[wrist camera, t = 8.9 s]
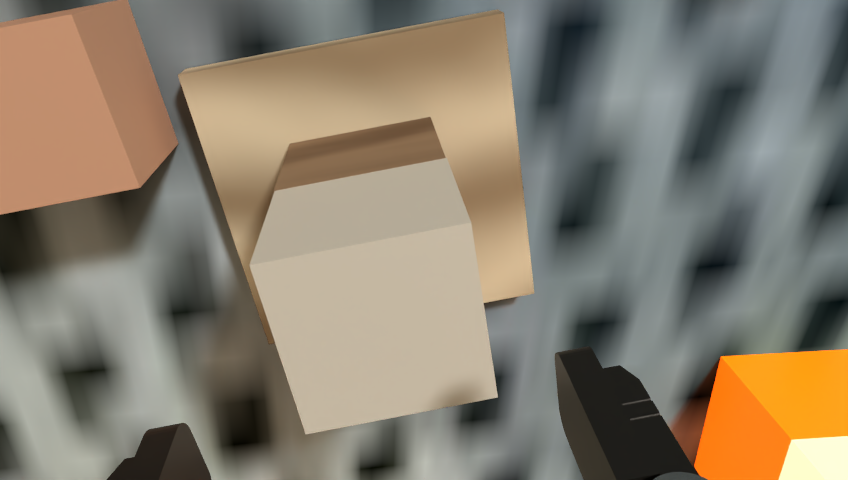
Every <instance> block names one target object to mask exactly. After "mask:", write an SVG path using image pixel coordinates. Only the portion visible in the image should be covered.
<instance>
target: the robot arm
mask: <svg viewBox="0 0 848 480" xmlns="http://www.w3.org/2000/svg"><path fill="white" fill-rule="evenodd" d="M555 367H556V378H557V389H558V401H559V410H560V416H561V420H562V424H563V428H564V431H565V434H566V437H567V440H568V442H569V445H570V447H571V450H572V452H573V455H574V457H575V459H576V462H577V464H578V467H579V469H580V472H581V474H582V477H583V479H584V480H708V479H706V478H704V477H701V476H699V475H698V474H697V472H696V471H695V470H694V468H693V466H692V465H691V463H690V462H689V460H688V458H687V457H686V455H685V453H684V452H683V450H682V449H681V447H680V445H679V444H678V442H677V440H676V439H675V437H674V435H673V434H672V432H671V431H670V429H669V427H668V426H667V424H666V422H665V421H664V419H663V417H662V416H660V414H659V411H658V409H657V408H656V406H655V404H654V403H653V401H651V399H650V396H649V395H648V393H647V391H646V390H645V388H644V386H643V385H642V383H641V382H640V380H639V379H638V378H637V377H635V376H634V375H632V374H631V373H630V372H628V371H627V370H626V369H624V368H623V367H621V366H620V365H619V366H614V367H609V368H604V369H603V368H602V367H601V365H600V363H599V361H598V359H597V357H596V356H595V354H594V352H593V350H592V349H591V347H583V348H578V349H573V350H568V351H562V352H557V353H555ZM107 480H211V476H210V473H209V470H208V468H207V466H206V464H205V461H204V459H203V457H202V455H201V452H200V450H199V448H198V446H197V443H196V441H195V439H194V437H193V434H192V432H191V430H190V428H189V427H188V425H187V424H185V423H180V424H175V425H170V426H164V427H159V428H154V429H149V430H148V431H146V433H145V434H144V436H143V439H142V441H141V443H140V446H139V448H138V450H137V453H136V455H135V457H132V458H127V459H124V460H123V462H122V463H121V464H120V465H119V466H118V467H117V468H116V470H115V471H114V472H113V473H112V474H111V475H110V476H109V478H108V479H107Z"/></svg>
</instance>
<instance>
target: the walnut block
mask: <svg viewBox="0 0 848 480" xmlns="http://www.w3.org/2000/svg"><path fill="white" fill-rule="evenodd" d="M443 158H446V157H445V155H444V152H443V149H442V147H441V144H440V141H439V139H438V136H437V133H436V130H435V128H434V125H433V122H432V120H431V117H426V118H421V119H416V120H411V121H405V122H400V123H395V124H390V125H384V126H379V127H374V128H369V129H364V130H358V131H353V132H348V133H343V134H337V135H332V136H327V137H322V138H316V139H311V140H306V141H301V142H296V143H290V144H289V147H288V150H287V153H286V156H285V159H284V162H283V164H282V167H281V170H280V173H279V176H278V179H277V182H276V185H275V188H274V190H273V191H277V190H282V189H287V188H292V187H298V186H303V185H308V184H313V183H318V182H324V181H329V180H334V179H339V178H344V177H350V176H355V175H360V174H365V173H370V172H376V171H381V170H386V169H391V168H396V167H402V166H407V165H412V164H417V163H422V162H428V161H433V160H438V159H443Z"/></svg>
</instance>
